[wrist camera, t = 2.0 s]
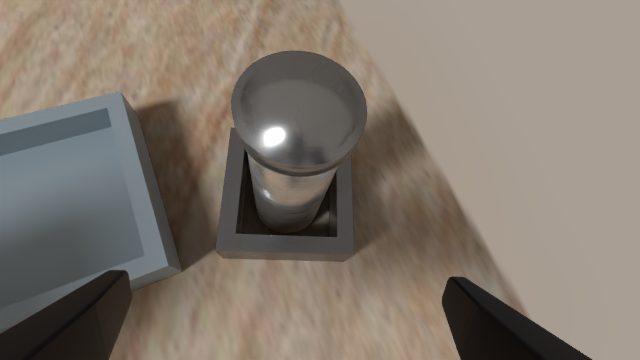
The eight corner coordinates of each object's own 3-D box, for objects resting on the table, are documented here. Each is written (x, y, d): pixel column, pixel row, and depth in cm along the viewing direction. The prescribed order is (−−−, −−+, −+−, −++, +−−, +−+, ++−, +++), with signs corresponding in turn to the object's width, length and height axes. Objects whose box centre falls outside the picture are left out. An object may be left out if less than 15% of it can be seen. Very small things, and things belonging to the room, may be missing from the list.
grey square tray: (343, 261, 22) (354, 254, 19) (223, 258, 21) (215, 250, 18) (341, 155, 25) (350, 136, 22) (235, 148, 24) (230, 127, 21)
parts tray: (182, 271, 20) (168, 265, 18) (-48, 361, 17) (-109, 371, 14) (138, 116, 24) (120, 91, 21) (-60, 167, 21) (-111, 146, 18)
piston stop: (281, 252, 22) (290, 194, 11) (237, 196, 23) (203, 89, 12) (336, 208, 23) (393, 117, 12) (293, 158, 24) (309, 32, 13)
